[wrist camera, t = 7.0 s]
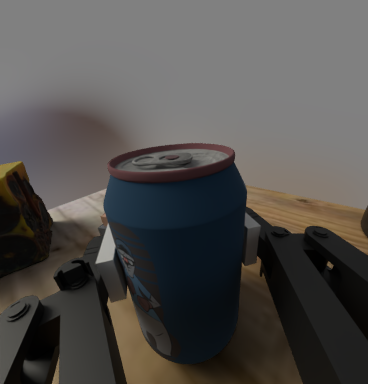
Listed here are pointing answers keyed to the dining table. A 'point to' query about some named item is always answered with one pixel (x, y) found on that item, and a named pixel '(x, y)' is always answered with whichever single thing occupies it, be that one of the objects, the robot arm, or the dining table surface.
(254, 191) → the dining table surface
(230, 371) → the dining table surface
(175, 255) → the soda can
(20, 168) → the yellow black cube
